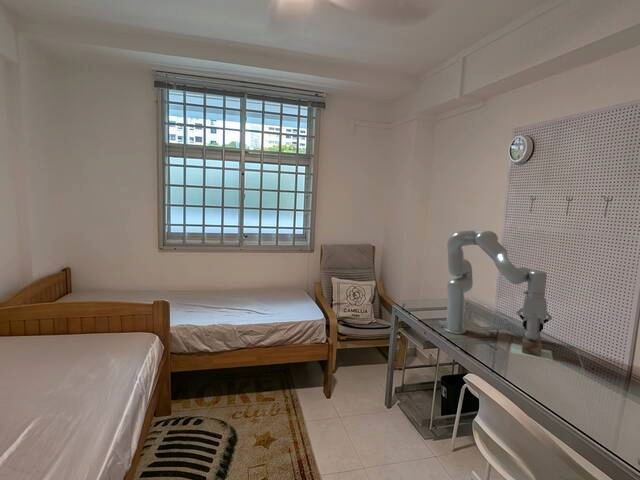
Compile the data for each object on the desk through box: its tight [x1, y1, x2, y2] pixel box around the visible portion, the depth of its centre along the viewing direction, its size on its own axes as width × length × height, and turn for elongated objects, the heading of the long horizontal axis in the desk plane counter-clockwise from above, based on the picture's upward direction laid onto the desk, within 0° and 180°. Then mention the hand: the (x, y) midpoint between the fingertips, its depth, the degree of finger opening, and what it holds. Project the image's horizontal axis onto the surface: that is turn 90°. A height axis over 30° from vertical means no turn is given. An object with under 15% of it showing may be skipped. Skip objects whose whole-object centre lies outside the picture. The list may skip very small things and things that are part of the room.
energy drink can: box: [524, 313, 541, 340], centre depth 172 cm, size 6×6×15 cm
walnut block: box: [521, 335, 543, 357], centre depth 173 cm, size 8×8×6 cm
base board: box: [510, 342, 554, 362], centre depth 174 cm, size 18×13×1 cm
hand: (532, 329), depth 172 cm, fingers closed on energy drink can, 6 cm apart
